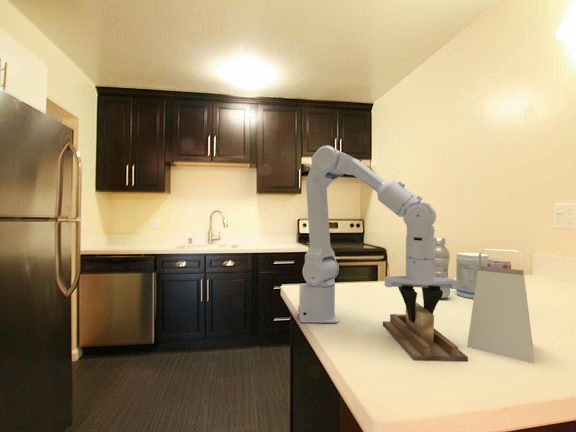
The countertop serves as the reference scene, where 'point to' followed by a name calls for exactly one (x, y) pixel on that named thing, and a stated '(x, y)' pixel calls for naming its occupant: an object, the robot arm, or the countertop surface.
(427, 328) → the brown wooden block
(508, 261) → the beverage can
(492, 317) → the grater
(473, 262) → the supplement tub
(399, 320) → the track
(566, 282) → the countertop surface
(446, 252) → the plastic bottle
